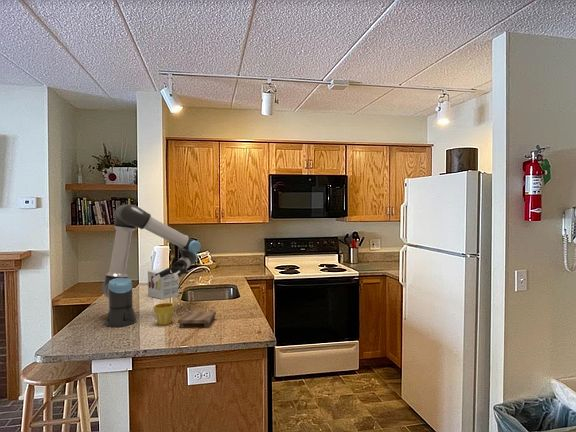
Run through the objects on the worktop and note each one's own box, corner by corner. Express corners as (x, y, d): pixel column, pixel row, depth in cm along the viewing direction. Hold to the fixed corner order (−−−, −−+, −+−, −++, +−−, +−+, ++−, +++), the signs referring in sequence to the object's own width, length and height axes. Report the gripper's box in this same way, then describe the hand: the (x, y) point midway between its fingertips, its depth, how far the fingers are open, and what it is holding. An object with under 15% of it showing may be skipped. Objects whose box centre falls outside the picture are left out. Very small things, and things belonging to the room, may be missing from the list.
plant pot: (168, 326, 198) (168, 308, 198) (150, 325, 201) (150, 307, 200) (178, 320, 209) (177, 303, 208) (160, 319, 211) (160, 302, 210)
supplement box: (147, 296, 266) (146, 270, 265) (163, 292, 277) (162, 268, 276) (163, 299, 256) (162, 273, 255) (179, 295, 267) (178, 270, 266)
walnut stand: (178, 327, 196) (177, 320, 196) (187, 318, 212) (187, 311, 212) (208, 327, 196) (208, 320, 196) (215, 318, 212) (215, 311, 212)
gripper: (201, 267, 231) (185, 282, 211) (166, 273, 238) (147, 288, 217) (198, 256, 230) (181, 269, 209) (162, 262, 236) (142, 276, 216)
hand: (163, 279), depth 213 cm, fingers open, 13 cm apart
